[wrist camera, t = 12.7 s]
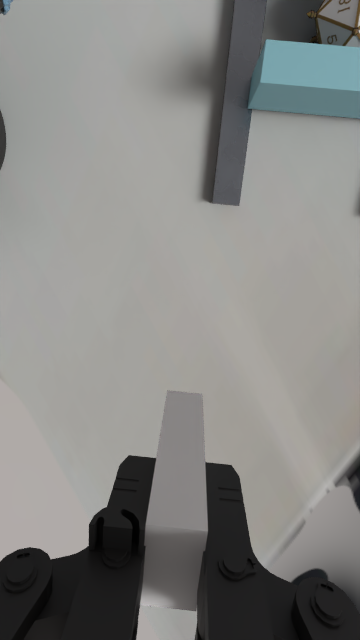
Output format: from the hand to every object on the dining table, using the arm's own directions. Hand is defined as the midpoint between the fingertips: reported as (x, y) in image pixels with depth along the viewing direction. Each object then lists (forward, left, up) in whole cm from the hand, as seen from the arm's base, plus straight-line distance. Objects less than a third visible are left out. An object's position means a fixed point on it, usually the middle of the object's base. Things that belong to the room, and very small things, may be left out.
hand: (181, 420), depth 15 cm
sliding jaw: (+12, +21, -28) cm, 37 cm away
